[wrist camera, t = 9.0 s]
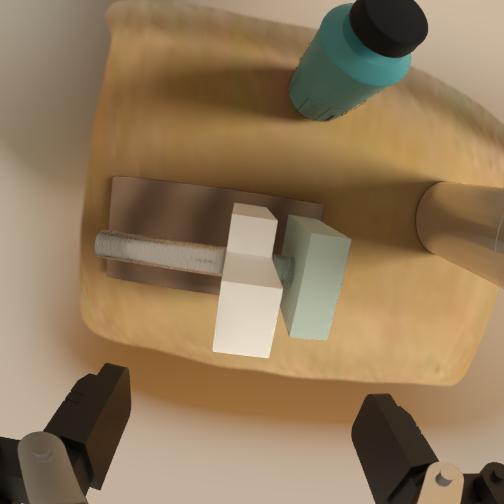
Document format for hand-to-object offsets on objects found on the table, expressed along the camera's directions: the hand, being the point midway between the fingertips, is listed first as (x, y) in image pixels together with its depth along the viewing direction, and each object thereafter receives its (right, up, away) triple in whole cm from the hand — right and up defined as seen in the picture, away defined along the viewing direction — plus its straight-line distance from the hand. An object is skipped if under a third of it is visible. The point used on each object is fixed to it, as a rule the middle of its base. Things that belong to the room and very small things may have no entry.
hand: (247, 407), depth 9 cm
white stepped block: (-1, +5, +21) cm, 21 cm away
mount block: (+5, +5, +23) cm, 24 cm away
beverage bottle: (+7, +22, +21) cm, 31 cm away
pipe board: (-4, +6, +24) cm, 25 cm away
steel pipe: (-4, +5, +18) cm, 19 cm away
